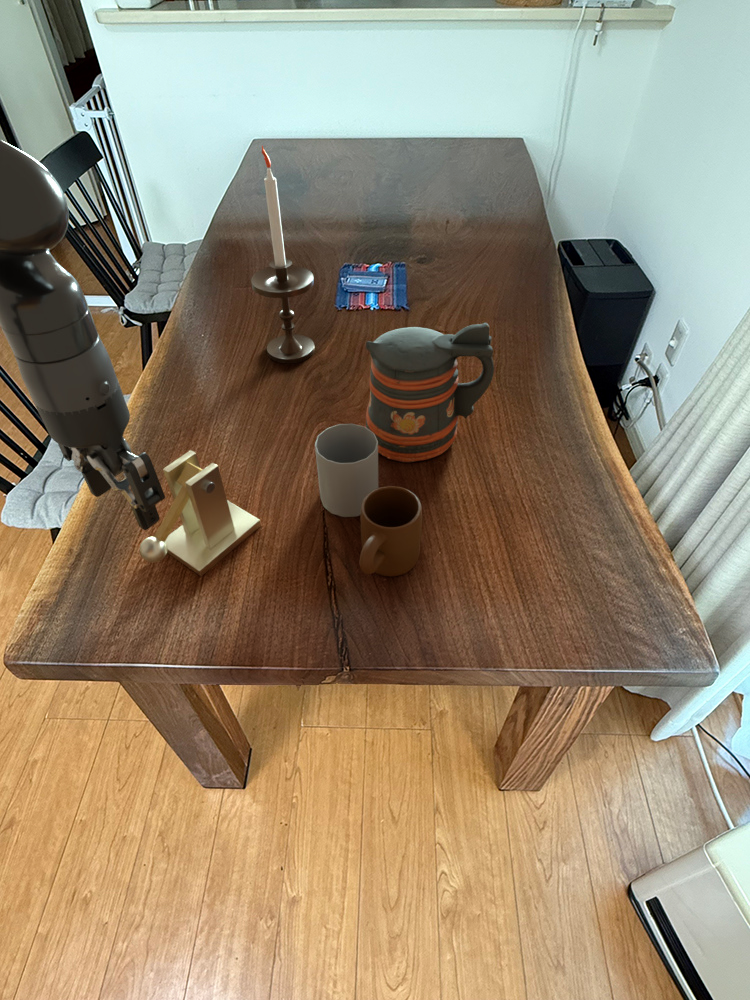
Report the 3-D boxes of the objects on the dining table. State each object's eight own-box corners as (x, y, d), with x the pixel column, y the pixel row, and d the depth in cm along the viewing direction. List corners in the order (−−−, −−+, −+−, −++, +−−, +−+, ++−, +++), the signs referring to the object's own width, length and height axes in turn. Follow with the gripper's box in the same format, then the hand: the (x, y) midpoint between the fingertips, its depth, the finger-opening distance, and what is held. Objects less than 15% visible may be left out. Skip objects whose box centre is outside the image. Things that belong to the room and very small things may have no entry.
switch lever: (164, 568, 74) (146, 565, 71) (147, 556, 75) (129, 552, 72) (216, 477, 74) (200, 469, 72) (198, 466, 76) (182, 459, 73)
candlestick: (251, 356, 114) (214, 150, 89) (285, 331, 120) (259, 132, 95) (297, 372, 110) (273, 161, 85) (330, 345, 116) (316, 142, 91)
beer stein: (477, 406, 102) (493, 295, 88) (487, 464, 91) (507, 348, 77) (366, 406, 102) (363, 295, 88) (364, 463, 92) (361, 348, 77)
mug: (393, 613, 72) (394, 565, 66) (337, 593, 75) (332, 544, 68) (427, 544, 80) (431, 494, 73) (375, 527, 82) (375, 478, 76)
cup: (328, 473, 90) (323, 420, 83) (381, 479, 89) (381, 426, 82) (315, 513, 84) (308, 460, 77) (372, 520, 83) (371, 467, 76)
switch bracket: (201, 576, 77) (176, 507, 68) (160, 548, 80) (132, 479, 71) (261, 525, 83) (246, 455, 74) (221, 501, 86) (202, 432, 77)
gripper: (-5, 378, 56) (59, 500, 68) (85, 434, 50) (139, 558, 62) (65, 345, 61) (114, 465, 72) (156, 393, 55) (194, 515, 66)
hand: (126, 507), depth 67 cm, fingers open, 8 cm apart
